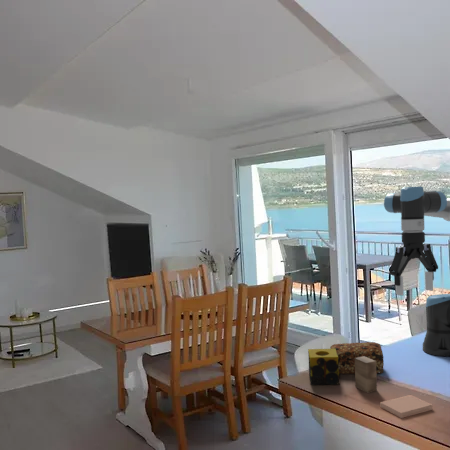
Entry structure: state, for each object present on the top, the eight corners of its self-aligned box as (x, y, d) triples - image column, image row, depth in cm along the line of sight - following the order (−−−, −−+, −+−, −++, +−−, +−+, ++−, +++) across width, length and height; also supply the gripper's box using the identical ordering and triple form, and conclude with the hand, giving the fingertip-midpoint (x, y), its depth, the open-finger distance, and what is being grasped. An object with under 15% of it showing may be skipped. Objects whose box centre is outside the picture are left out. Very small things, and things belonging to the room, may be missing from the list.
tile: (410, 394, 160) (432, 404, 152) (410, 400, 160) (432, 411, 152) (380, 402, 155) (401, 412, 147) (380, 408, 155) (401, 419, 147)
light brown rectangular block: (364, 384, 174) (364, 356, 173) (376, 390, 168) (375, 360, 168) (355, 387, 172) (354, 358, 172) (367, 392, 167) (366, 362, 166)
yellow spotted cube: (337, 375, 184) (336, 348, 184) (340, 385, 174) (339, 356, 174) (308, 375, 185) (307, 348, 185) (310, 385, 175) (309, 357, 175)
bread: (380, 365, 193) (379, 339, 192) (384, 375, 182) (383, 348, 182) (330, 365, 196) (329, 339, 195) (331, 374, 185) (330, 347, 185)
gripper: (392, 234, 166) (394, 298, 167) (448, 229, 176) (449, 289, 177) (377, 233, 173) (379, 295, 174) (431, 228, 183) (432, 286, 184)
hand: (414, 292), depth 176 cm, fingers open, 13 cm apart
